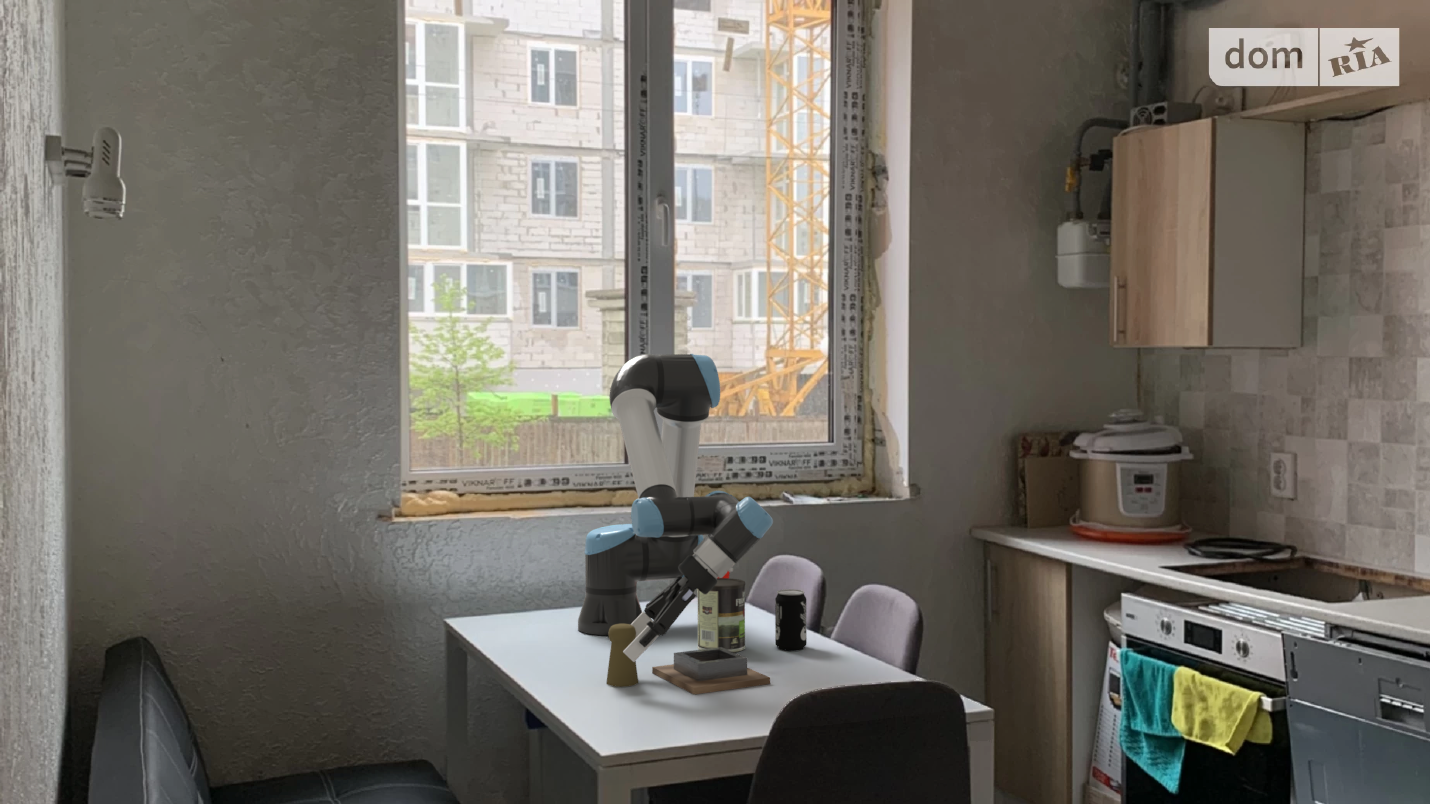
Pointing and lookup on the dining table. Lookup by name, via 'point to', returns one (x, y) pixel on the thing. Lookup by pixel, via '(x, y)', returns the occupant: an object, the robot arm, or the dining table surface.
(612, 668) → the cork
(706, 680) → the socket plate
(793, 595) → the beverage can
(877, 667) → the dining table surface
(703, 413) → the robot arm
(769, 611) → the dining table surface
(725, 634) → the coffee can
